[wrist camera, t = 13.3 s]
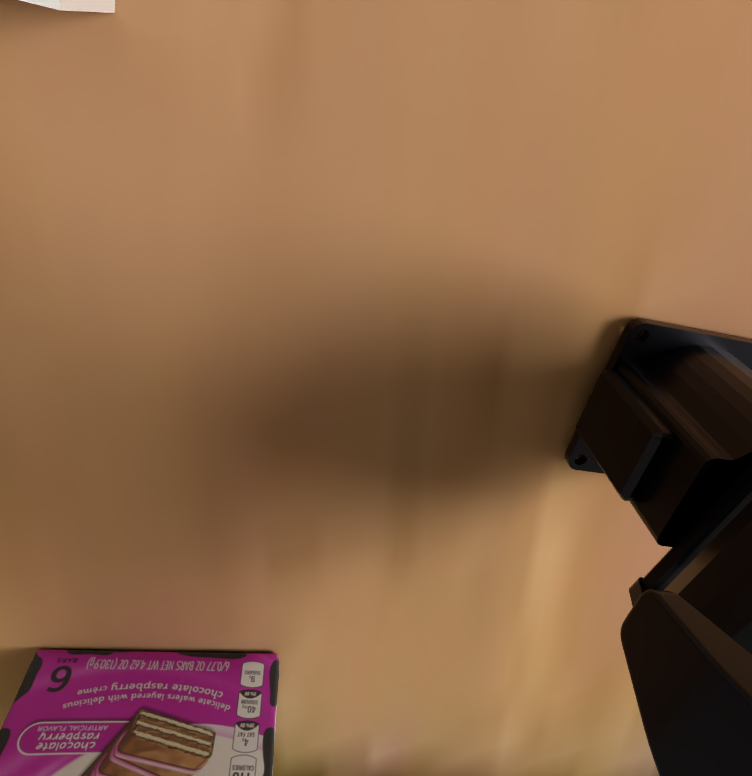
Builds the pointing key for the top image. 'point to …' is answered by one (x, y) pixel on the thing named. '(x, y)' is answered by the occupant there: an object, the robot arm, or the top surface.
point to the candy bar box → (142, 715)
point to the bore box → (78, 5)
